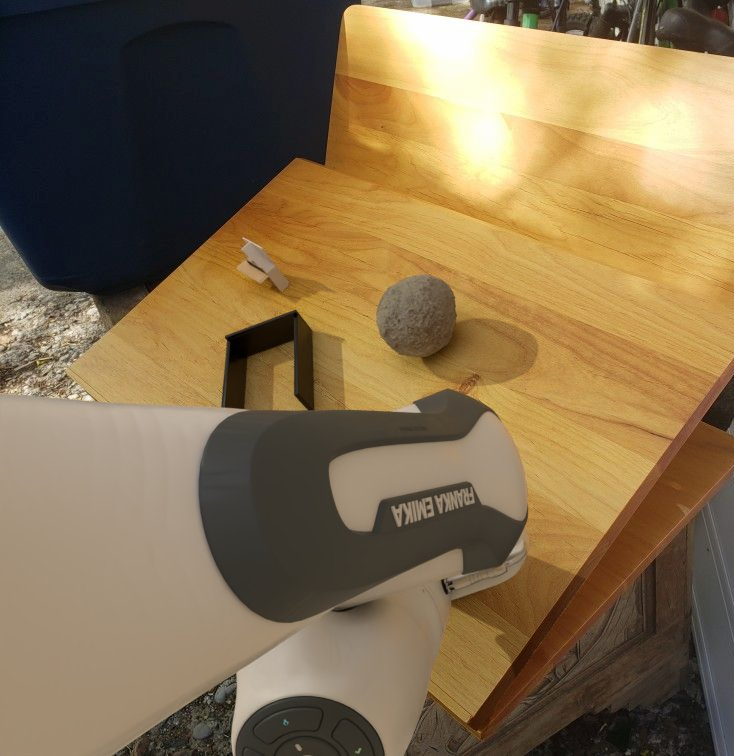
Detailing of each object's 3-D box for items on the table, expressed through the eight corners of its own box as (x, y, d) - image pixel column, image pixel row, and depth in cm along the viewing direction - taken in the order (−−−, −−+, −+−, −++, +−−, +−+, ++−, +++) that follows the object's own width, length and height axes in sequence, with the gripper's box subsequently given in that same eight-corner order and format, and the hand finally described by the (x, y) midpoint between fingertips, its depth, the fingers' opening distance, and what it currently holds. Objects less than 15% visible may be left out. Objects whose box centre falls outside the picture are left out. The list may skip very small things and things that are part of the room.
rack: (314, 411, 86) (296, 391, 82) (238, 438, 87) (217, 419, 83) (312, 330, 95) (295, 308, 91) (243, 355, 96) (224, 335, 92)
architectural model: (274, 299, 102) (245, 264, 96) (250, 284, 106) (221, 249, 100) (290, 283, 103) (263, 248, 97) (266, 269, 107) (238, 234, 101)
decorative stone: (418, 384, 83) (385, 333, 76) (386, 349, 88) (351, 298, 81) (483, 334, 85) (456, 279, 77) (447, 302, 90) (419, 248, 83)
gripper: (509, 518, 46) (516, 468, 60) (235, 613, 48) (303, 543, 61) (542, 603, 46) (541, 534, 60) (270, 694, 48) (329, 606, 62)
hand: (419, 539), depth 61 cm, fingers open, 8 cm apart
